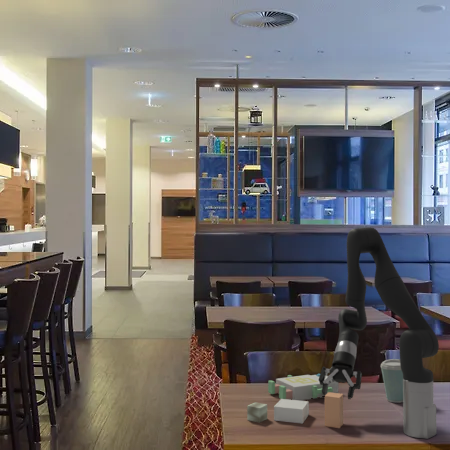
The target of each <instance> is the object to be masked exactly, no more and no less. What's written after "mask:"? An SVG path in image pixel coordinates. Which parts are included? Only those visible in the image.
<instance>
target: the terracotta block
mask: <svg viewBox="0 0 450 450" xmlns="http://www.w3.org/2000/svg"><path fill="white" fill-rule="evenodd" d="M343 425H344V394H343V393H340V392H338V393H331V392H328V393H327V394H326V395H325V397H324V427H328V428H336V429H341V427H342V426H343Z"/></svg>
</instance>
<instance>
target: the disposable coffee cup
mask: <svg viewBox="0 0 450 450" xmlns="http://www.w3.org/2000/svg"><path fill="white" fill-rule="evenodd" d="M380 369H381V374H382V380H383V386H384V390H385V391H384V392H385V396H386V399H387V401H388V402H390V403H393V404H394V403H396V404H397V403H398V404H400V403H403V373H402V370H401V366H400V358H397V359H396V358H392V359H390V358H389V359H386V360H384V361H382V362H381V363H380Z"/></svg>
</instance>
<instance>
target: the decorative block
mask: <svg viewBox="0 0 450 450" xmlns="http://www.w3.org/2000/svg"><path fill="white" fill-rule="evenodd" d="M328 376H329V375H326V376H325V379H327V377H328ZM319 377H320V373H317V374H312V375H310V374H304V375H296V376H293V375H291V374H288V375H287V377H279V378H275V381H274V380H267V381H268V382H267V392H268V394H271V395H276V394H278V398H279V400H281V399H289V400H291V399H292V400H299V401H306V400H312V399H311V398H313V399H318V398H317V397H320V398H323V397H322V396H324V395H323V394H322V387H323V385H321V384H320V382H319ZM328 392H331V393H339V382H336V381H335V382H334V383H332V384H330V385H329V386H328V390H327V393H328Z"/></svg>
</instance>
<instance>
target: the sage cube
mask: <svg viewBox="0 0 450 450" xmlns="http://www.w3.org/2000/svg"><path fill="white" fill-rule="evenodd" d="M246 408H247V409H246V410H247V412H246V413H247V416H246V418H247V421H249V422H255V423H263V422H264V421H266V420H268V404H267V403H261V402H253V403H251V404H248V405H247V407H246Z"/></svg>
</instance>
